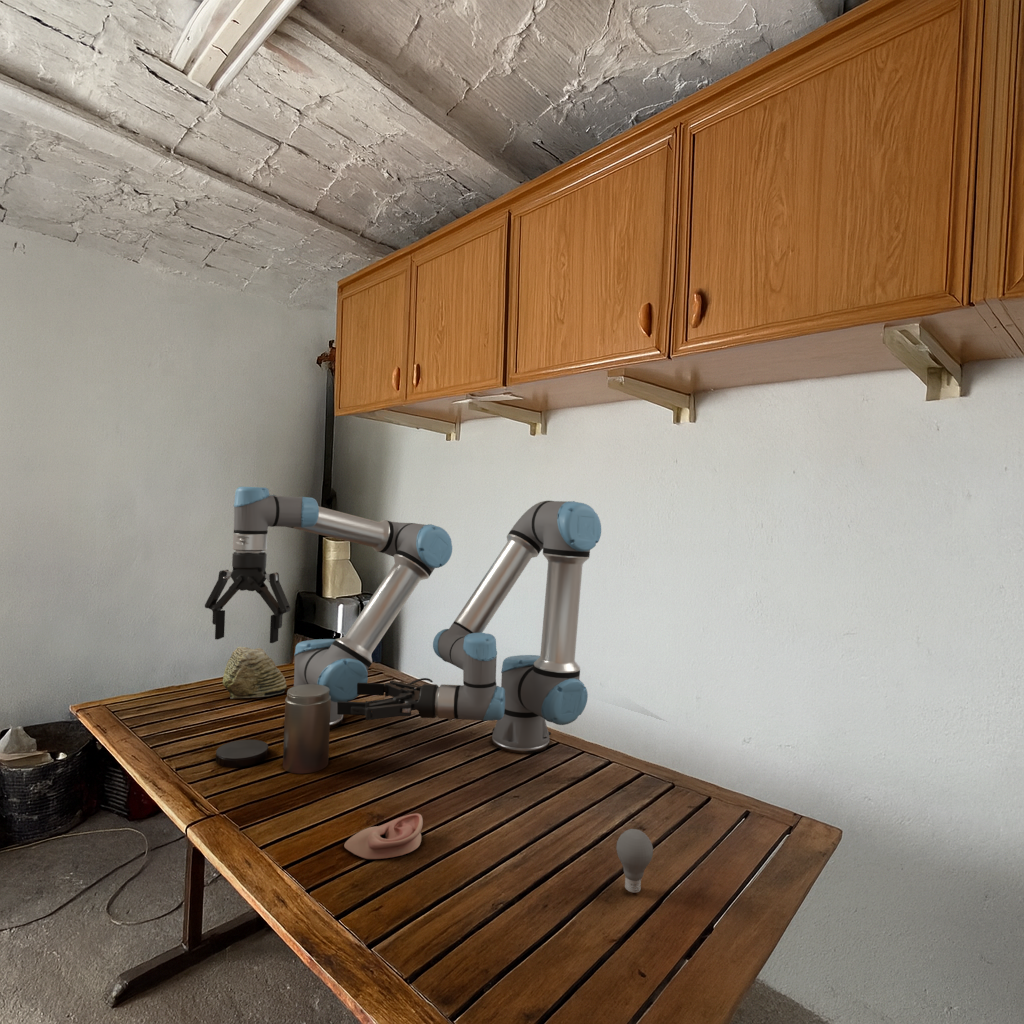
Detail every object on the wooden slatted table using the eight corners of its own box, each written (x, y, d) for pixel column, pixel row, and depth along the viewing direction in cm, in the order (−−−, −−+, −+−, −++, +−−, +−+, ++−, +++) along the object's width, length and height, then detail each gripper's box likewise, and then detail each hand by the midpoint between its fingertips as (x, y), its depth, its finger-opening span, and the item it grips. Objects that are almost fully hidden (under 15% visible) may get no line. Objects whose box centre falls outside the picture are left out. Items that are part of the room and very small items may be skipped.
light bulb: (610, 879, 108) (613, 822, 108) (644, 879, 109) (647, 822, 109) (619, 902, 102) (622, 840, 102) (655, 901, 103) (658, 840, 103)
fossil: (218, 695, 195) (220, 647, 195) (278, 685, 208) (279, 640, 207) (228, 703, 189) (230, 653, 188) (289, 692, 201) (290, 645, 201)
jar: (280, 775, 143) (283, 697, 143) (284, 756, 153) (287, 684, 153) (327, 772, 146) (330, 695, 145) (328, 754, 156) (331, 683, 155)
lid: (277, 750, 157) (277, 741, 157) (251, 769, 145) (252, 760, 145) (233, 745, 158) (233, 737, 158) (205, 764, 147) (205, 755, 147)
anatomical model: (336, 832, 112) (364, 802, 124) (336, 854, 112) (363, 822, 124) (407, 843, 110) (429, 812, 121) (406, 866, 110) (428, 832, 121)
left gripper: (190, 549, 148) (187, 640, 149) (293, 555, 146) (289, 647, 146) (209, 547, 156) (206, 633, 156) (306, 552, 153) (303, 640, 154)
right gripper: (426, 738, 134) (328, 734, 136) (447, 699, 159) (364, 696, 160) (426, 703, 134) (328, 699, 135) (447, 669, 159) (364, 666, 160)
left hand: (246, 640), depth 151 cm, fingers open, 13 cm apart
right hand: (348, 697), depth 148 cm, fingers open, 13 cm apart
